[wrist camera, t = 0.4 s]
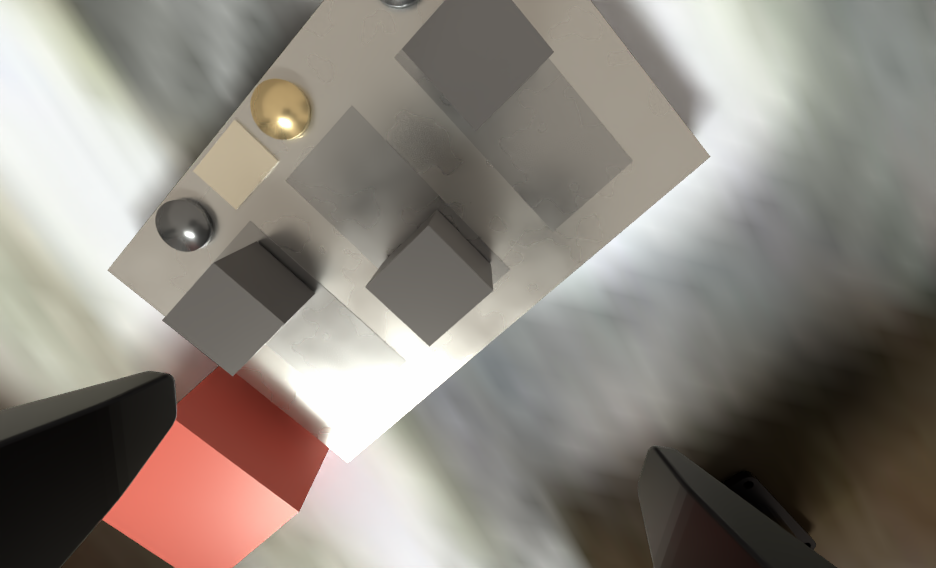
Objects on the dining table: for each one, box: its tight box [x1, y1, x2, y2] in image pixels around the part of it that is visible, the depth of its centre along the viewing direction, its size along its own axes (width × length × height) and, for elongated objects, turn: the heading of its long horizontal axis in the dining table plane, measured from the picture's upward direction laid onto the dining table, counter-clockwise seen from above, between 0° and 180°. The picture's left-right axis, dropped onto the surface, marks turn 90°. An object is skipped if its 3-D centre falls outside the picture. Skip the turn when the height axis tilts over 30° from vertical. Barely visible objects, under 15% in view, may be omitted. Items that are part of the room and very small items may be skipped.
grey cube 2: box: [365, 210, 493, 347], centre depth 16 cm, size 3×3×3 cm
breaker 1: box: [162, 241, 315, 376], centre depth 17 cm, size 3×3×3 cm
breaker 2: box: [402, 0, 554, 131], centre depth 14 cm, size 3×3×3 cm
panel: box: [108, 0, 710, 463], centre depth 18 cm, size 13×20×2 cm, turn 134°
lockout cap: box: [102, 366, 329, 568], centre depth 21 cm, size 7×7×5 cm
